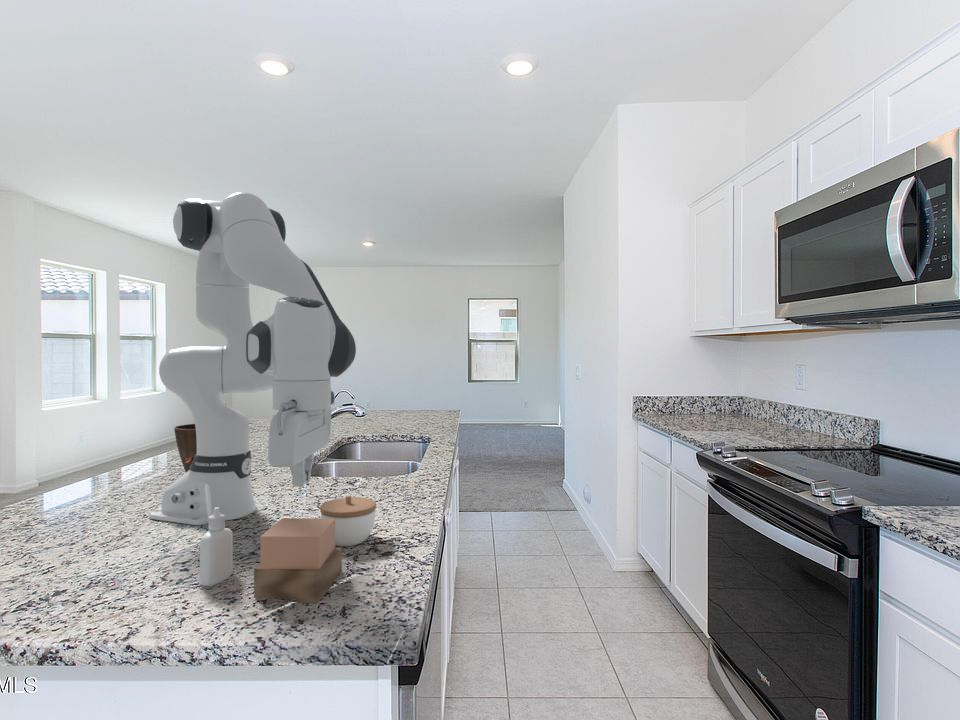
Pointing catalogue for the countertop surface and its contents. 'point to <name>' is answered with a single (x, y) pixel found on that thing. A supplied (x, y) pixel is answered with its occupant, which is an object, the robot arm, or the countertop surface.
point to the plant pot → (186, 443)
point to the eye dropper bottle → (216, 551)
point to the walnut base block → (298, 581)
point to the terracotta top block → (297, 543)
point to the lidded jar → (350, 519)
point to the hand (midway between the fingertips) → (301, 483)
